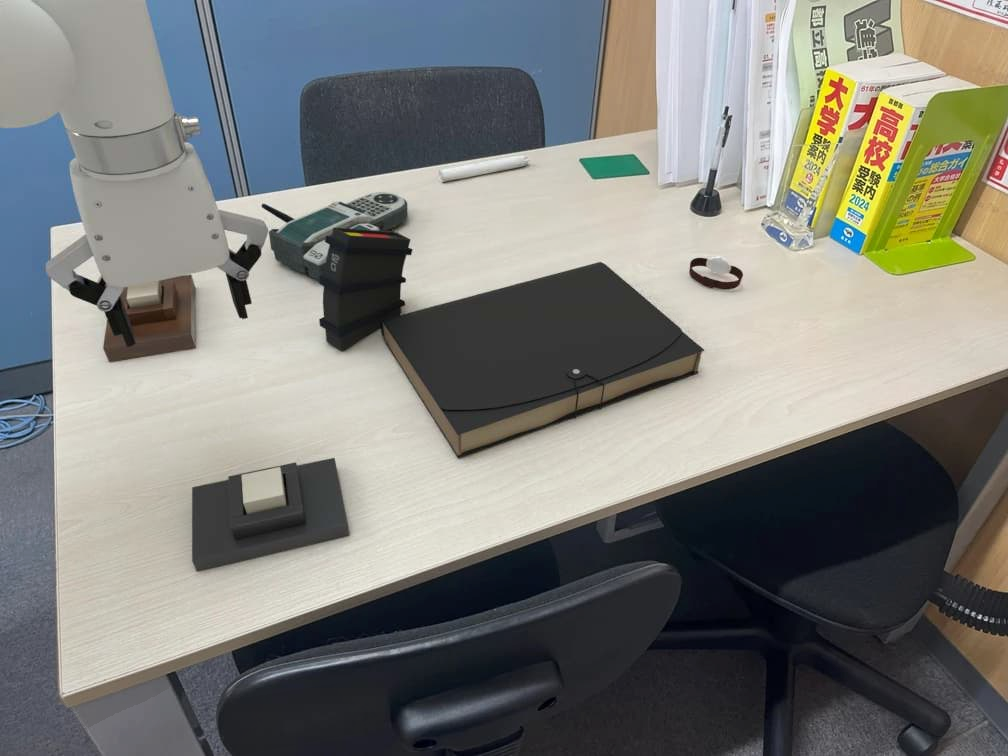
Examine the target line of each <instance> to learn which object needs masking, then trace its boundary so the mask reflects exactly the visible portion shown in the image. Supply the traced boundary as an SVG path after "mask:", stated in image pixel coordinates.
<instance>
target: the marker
mask: <svg viewBox="0 0 1008 756" xmlns="http://www.w3.org/2000/svg"><path fill="white" fill-rule="evenodd" d="M530 160H531V158H529V157H528V156H526V155H514V156H509V157H503V158H497V159H492V160H491V159H489V160H485V161H481V162H474V163H471V164H465V165H460V166H454V167H449V168H443V169H439V171H438V177H439V181H440V182H441V183H444V182H450V181H454V180H455V181H457V180H460V179H465V178H470V177H477V176H481V175H486V174H492V173H496V172H502V171H508V170H513V169H517V168H521V167H524V166H526V165H527V164H528V163H529V162H530Z"/></svg>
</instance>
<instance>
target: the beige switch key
mask: <svg viewBox="0 0 1008 756" xmlns="http://www.w3.org/2000/svg"><path fill="white" fill-rule="evenodd" d="M127 301H128V304H129V306H130V309H131V308H138V307H144V306H151V305H158V304H161V303H162V288H161V285H160V282H159V281H155V282H150V283H146V284H141V285H136V286H130V287H128V291H127Z"/></svg>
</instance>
